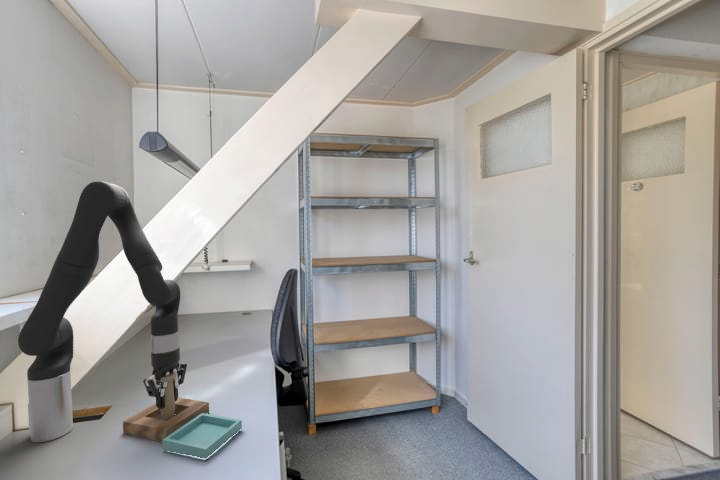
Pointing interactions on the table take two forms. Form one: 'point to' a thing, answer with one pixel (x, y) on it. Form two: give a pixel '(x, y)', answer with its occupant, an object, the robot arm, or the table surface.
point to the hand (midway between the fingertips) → (167, 404)
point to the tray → (202, 435)
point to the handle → (168, 398)
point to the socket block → (156, 429)
